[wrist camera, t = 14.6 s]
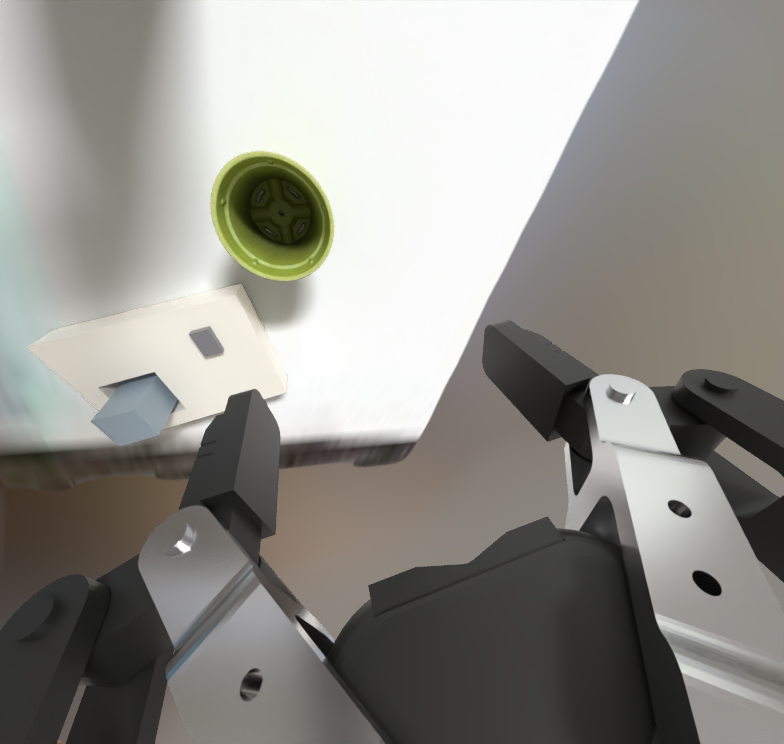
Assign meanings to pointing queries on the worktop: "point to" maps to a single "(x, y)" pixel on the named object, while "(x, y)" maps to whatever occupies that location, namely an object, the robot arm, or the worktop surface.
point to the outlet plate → (171, 352)
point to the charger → (136, 410)
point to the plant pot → (272, 216)
